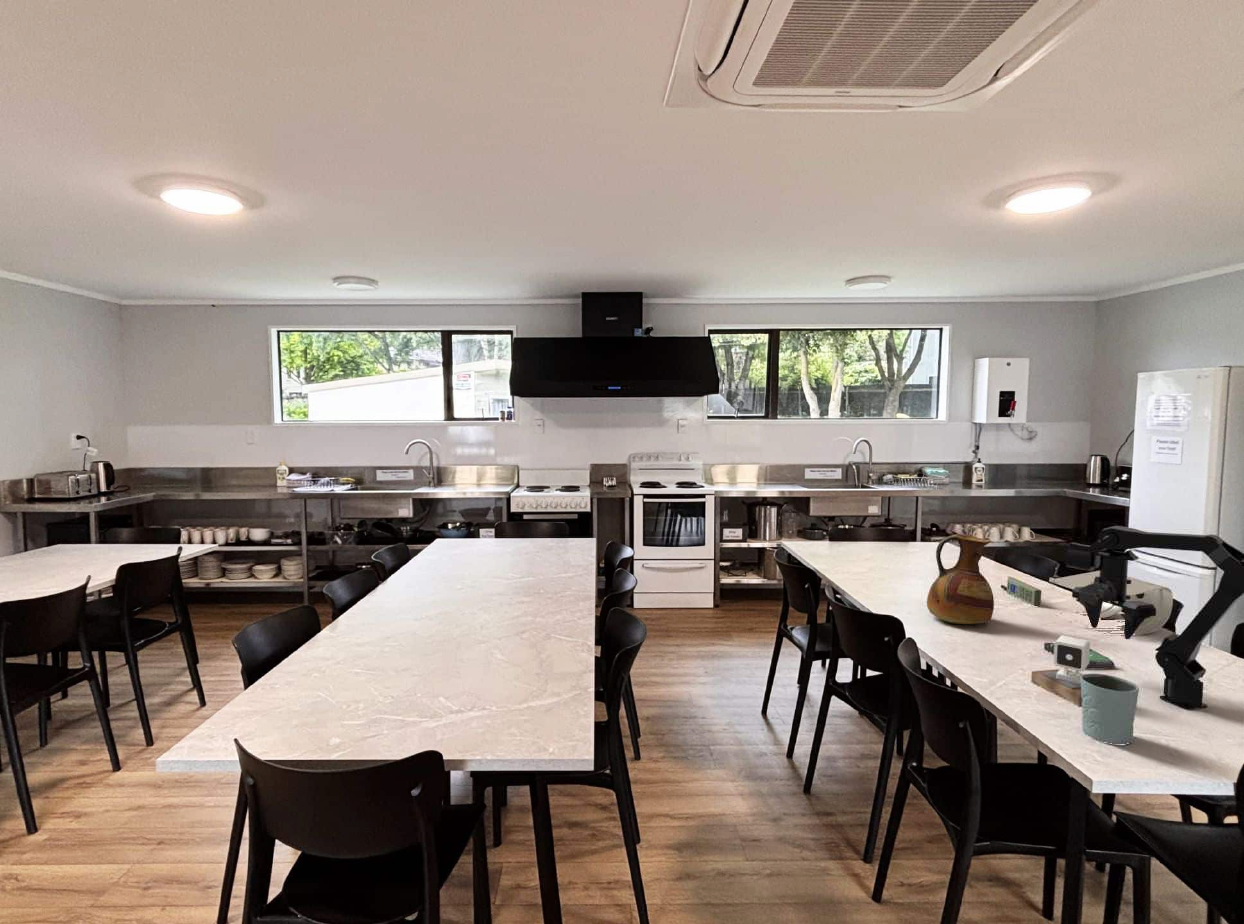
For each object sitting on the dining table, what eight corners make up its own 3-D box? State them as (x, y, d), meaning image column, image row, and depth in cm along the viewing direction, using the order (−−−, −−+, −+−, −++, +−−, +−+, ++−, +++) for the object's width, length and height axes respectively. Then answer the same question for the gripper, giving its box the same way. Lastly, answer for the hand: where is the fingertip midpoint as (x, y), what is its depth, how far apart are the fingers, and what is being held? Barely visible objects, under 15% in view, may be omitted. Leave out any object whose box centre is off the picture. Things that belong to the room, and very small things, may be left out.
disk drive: (1042, 651, 188) (1077, 670, 174) (1043, 642, 188) (1078, 660, 174) (1077, 651, 188) (1115, 670, 173) (1078, 642, 188) (1115, 660, 173)
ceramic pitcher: (999, 633, 203) (1002, 541, 201) (930, 626, 210) (933, 538, 208) (985, 615, 222) (988, 531, 220) (923, 610, 228) (925, 528, 226)
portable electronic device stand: (1174, 635, 201) (1176, 587, 200) (1104, 637, 199) (1106, 589, 198) (1107, 611, 226) (1109, 569, 225) (1045, 612, 225) (1046, 570, 224)
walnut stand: (1110, 703, 152) (1111, 689, 152) (1078, 706, 151) (1079, 692, 150) (1060, 680, 166) (1061, 667, 166) (1031, 682, 164) (1031, 669, 164)
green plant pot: (1086, 742, 134) (1088, 687, 133) (1071, 721, 143) (1073, 669, 142) (1144, 750, 130) (1147, 694, 129) (1125, 728, 140) (1128, 676, 139)
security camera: (1052, 679, 158) (1054, 640, 157) (1059, 671, 163) (1060, 634, 162) (1083, 687, 153) (1085, 647, 153) (1089, 678, 158) (1090, 640, 157)
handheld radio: (1032, 607, 232) (997, 589, 257) (1041, 607, 232) (1005, 589, 256) (1033, 589, 231) (998, 573, 256) (1043, 590, 231) (1007, 573, 256)
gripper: (1056, 567, 171) (1053, 623, 172) (1121, 585, 153) (1118, 647, 154) (1090, 566, 173) (1088, 621, 174) (1159, 583, 155) (1156, 644, 156)
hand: (1110, 633), depth 164 cm, fingers open, 9 cm apart
